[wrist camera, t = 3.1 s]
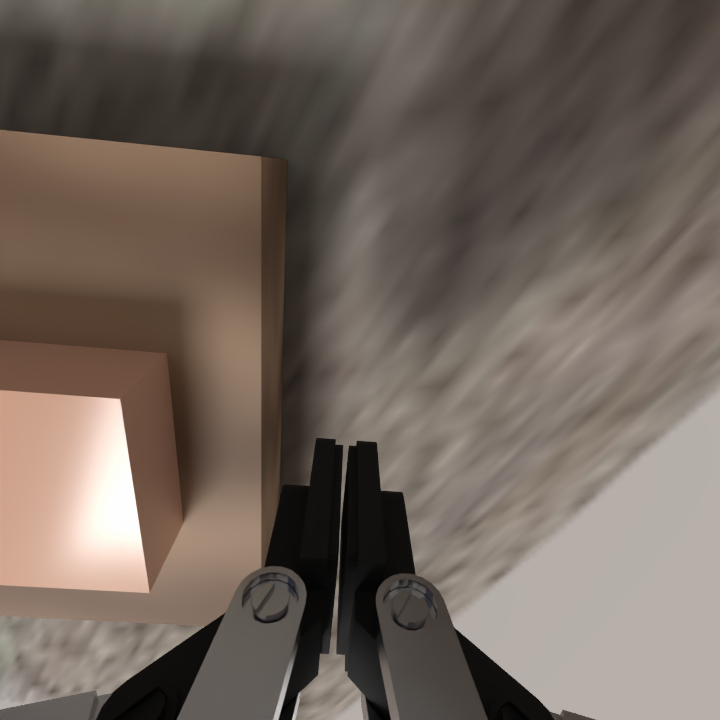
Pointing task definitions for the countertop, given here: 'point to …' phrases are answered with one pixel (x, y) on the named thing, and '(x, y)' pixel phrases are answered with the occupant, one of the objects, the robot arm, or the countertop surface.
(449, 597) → the countertop surface
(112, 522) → the terracotta tile
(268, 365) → the walnut board
